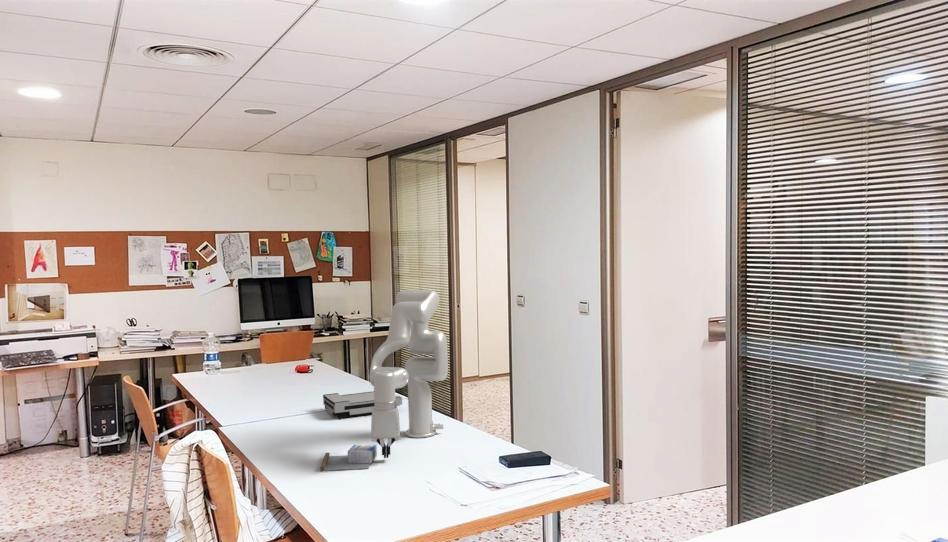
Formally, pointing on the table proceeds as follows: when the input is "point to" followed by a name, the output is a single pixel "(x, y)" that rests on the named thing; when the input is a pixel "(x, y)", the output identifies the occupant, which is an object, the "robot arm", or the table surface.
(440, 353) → the robot arm
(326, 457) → the walnut stop strip
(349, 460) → the medicine box
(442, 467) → the table surface
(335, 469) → the slate mat
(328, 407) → the game console
